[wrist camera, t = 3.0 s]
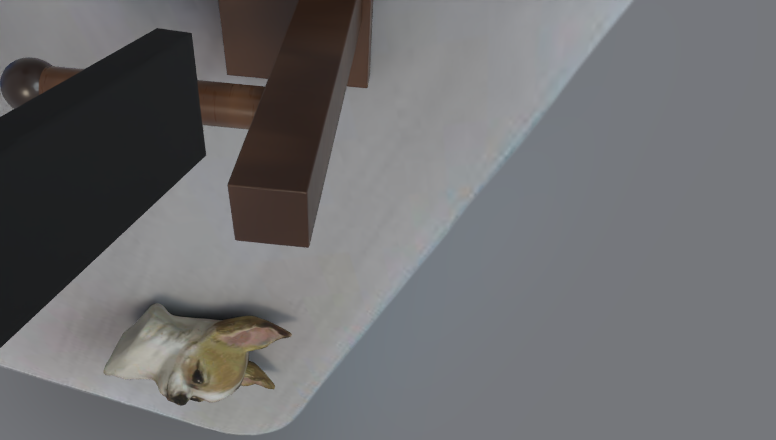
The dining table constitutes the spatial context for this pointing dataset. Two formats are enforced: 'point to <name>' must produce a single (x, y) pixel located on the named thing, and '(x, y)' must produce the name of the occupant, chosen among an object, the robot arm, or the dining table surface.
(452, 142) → the dining table surface
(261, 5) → the stand
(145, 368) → the ceramic sculpture
